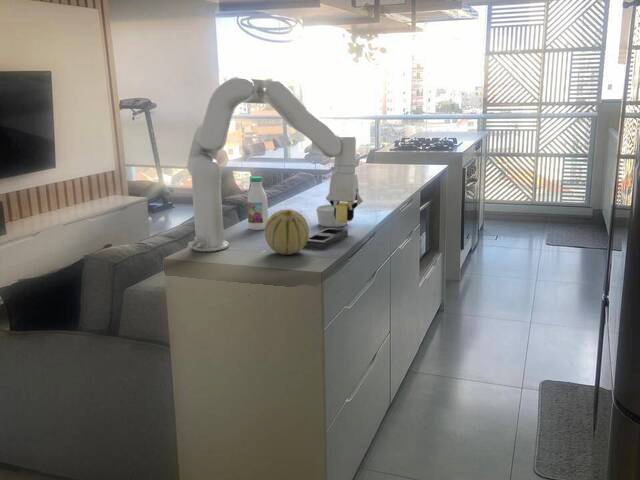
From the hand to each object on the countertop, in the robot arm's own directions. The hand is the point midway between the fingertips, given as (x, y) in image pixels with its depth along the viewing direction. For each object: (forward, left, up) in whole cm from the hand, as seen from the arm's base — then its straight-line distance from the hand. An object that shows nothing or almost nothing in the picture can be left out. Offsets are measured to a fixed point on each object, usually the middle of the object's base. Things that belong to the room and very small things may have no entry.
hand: (343, 218), depth 226 cm
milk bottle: (-4, +34, -6) cm, 35 cm away
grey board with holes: (-13, +1, -6) cm, 14 cm away
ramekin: (+13, +10, -6) cm, 17 cm away
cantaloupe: (-32, +6, -6) cm, 33 cm away
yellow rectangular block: (0, 0, -1) cm, 1 cm away
